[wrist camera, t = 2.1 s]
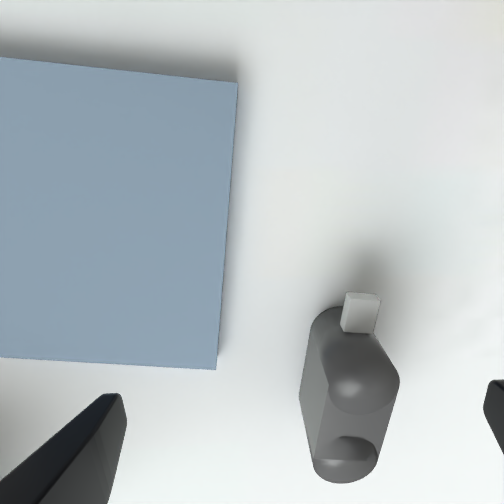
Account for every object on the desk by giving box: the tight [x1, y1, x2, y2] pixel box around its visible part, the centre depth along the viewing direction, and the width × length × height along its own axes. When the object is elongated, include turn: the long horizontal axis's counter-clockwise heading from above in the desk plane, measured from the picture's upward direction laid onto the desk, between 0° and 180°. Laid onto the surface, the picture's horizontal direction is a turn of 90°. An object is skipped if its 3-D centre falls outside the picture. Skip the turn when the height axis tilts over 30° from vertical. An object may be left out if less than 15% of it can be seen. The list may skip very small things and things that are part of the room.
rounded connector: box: [299, 292, 400, 483], centre depth 21 cm, size 11×4×5 cm, turn 174°
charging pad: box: [0, 57, 238, 370], centre depth 20 cm, size 16×13×1 cm
